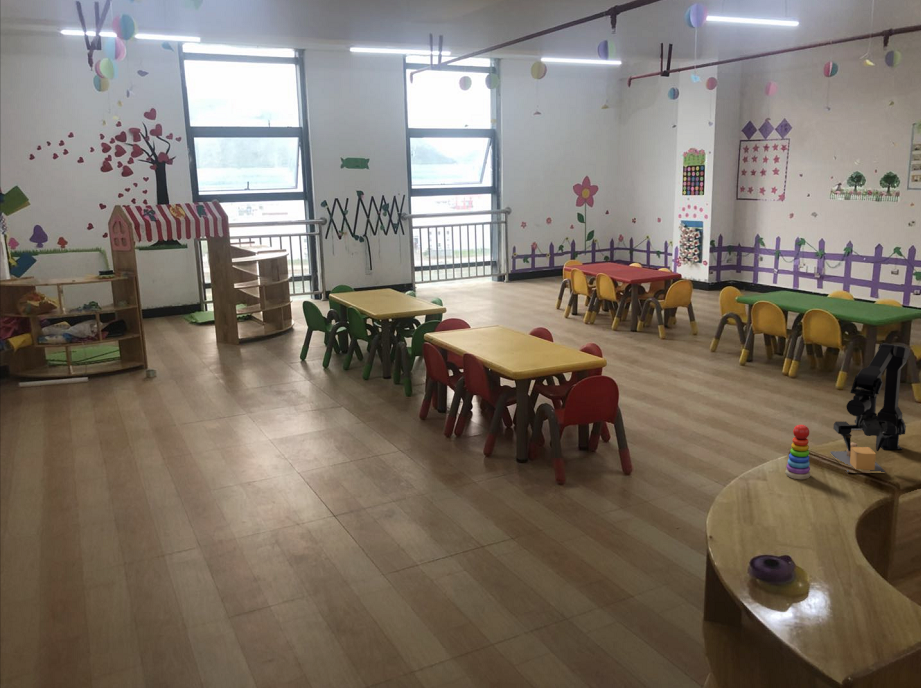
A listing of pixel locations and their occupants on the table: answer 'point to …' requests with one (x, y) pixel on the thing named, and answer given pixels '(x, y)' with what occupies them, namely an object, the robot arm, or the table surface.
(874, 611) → the table surface
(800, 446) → the stacking toy
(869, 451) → the natural wood cube
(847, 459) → the plate
